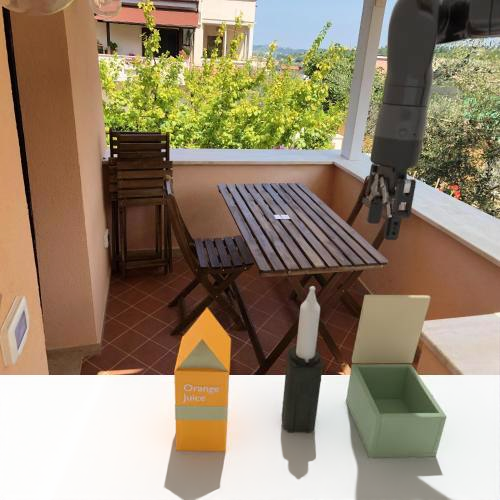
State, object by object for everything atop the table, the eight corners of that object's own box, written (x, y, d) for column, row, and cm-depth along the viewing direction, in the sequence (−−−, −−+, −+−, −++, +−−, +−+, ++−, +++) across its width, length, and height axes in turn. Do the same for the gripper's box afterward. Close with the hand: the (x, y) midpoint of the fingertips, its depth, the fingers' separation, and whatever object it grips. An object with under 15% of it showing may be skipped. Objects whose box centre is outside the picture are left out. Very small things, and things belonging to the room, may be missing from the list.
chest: (436, 456, 66) (446, 416, 63) (368, 458, 65) (376, 417, 62) (403, 399, 77) (411, 363, 74) (345, 400, 76) (351, 364, 74)
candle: (284, 432, 69) (297, 294, 59) (281, 410, 73) (293, 278, 64) (315, 433, 69) (333, 294, 60) (310, 410, 74) (326, 279, 64)
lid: (431, 297, 68) (428, 295, 69) (366, 297, 67) (364, 294, 68) (412, 363, 74) (410, 360, 75) (352, 363, 73) (351, 360, 74)
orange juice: (175, 450, 64) (172, 337, 57) (182, 409, 73) (181, 305, 65) (227, 451, 65) (231, 339, 57) (229, 410, 73) (232, 306, 65)
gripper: (442, 142, 62) (419, 246, 68) (404, 130, 75) (387, 218, 81) (392, 139, 61) (373, 244, 67) (362, 128, 74) (348, 217, 80)
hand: (381, 230), depth 74 cm, fingers open, 8 cm apart
